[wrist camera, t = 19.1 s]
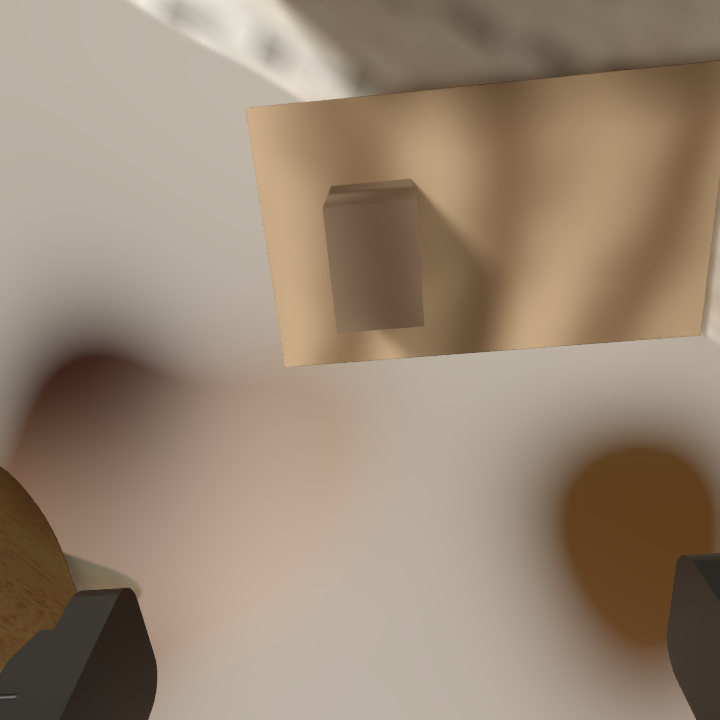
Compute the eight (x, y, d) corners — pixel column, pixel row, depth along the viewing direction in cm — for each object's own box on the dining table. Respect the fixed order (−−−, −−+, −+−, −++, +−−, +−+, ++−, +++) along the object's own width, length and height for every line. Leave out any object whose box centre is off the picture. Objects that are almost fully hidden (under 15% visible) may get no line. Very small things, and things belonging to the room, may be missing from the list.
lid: (288, 357, 34) (269, 415, 28) (250, 107, 29) (219, 116, 23) (689, 326, 32) (755, 380, 27) (719, 59, 28) (808, 57, 22)
